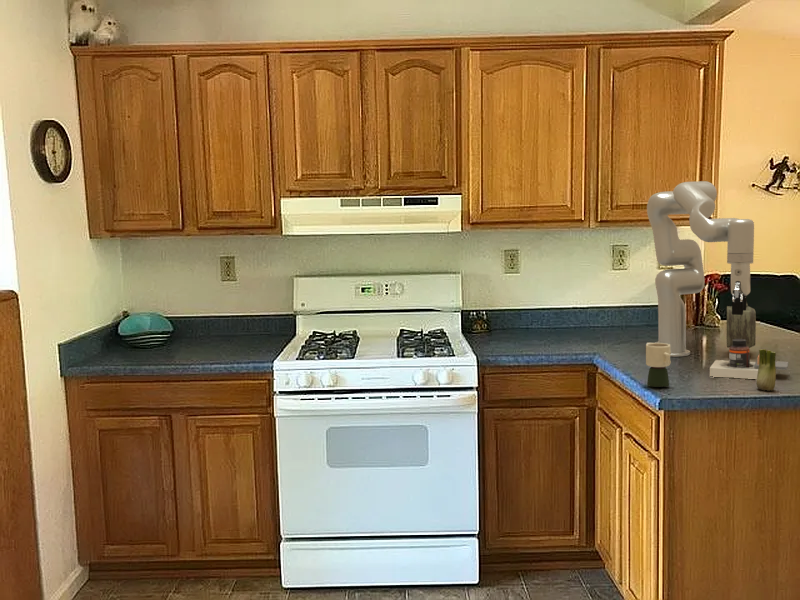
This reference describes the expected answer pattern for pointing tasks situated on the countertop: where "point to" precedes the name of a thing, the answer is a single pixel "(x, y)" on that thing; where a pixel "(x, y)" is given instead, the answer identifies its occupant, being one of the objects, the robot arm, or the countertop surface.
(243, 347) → the countertop surface
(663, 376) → the character mug
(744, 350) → the supplement bottle
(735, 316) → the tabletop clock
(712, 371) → the socket block
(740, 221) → the robot arm
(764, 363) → the fennel bulb
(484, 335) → the countertop surface
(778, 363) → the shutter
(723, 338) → the countertop surface
